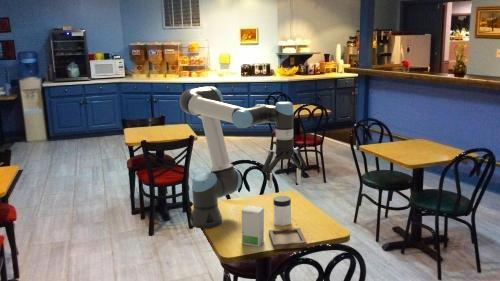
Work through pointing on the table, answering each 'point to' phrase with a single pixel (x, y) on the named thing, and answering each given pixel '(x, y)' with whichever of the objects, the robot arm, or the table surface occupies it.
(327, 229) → the table surface
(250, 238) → the skincare box
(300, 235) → the brown wooden tray
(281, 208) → the jar
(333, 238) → the table surface
